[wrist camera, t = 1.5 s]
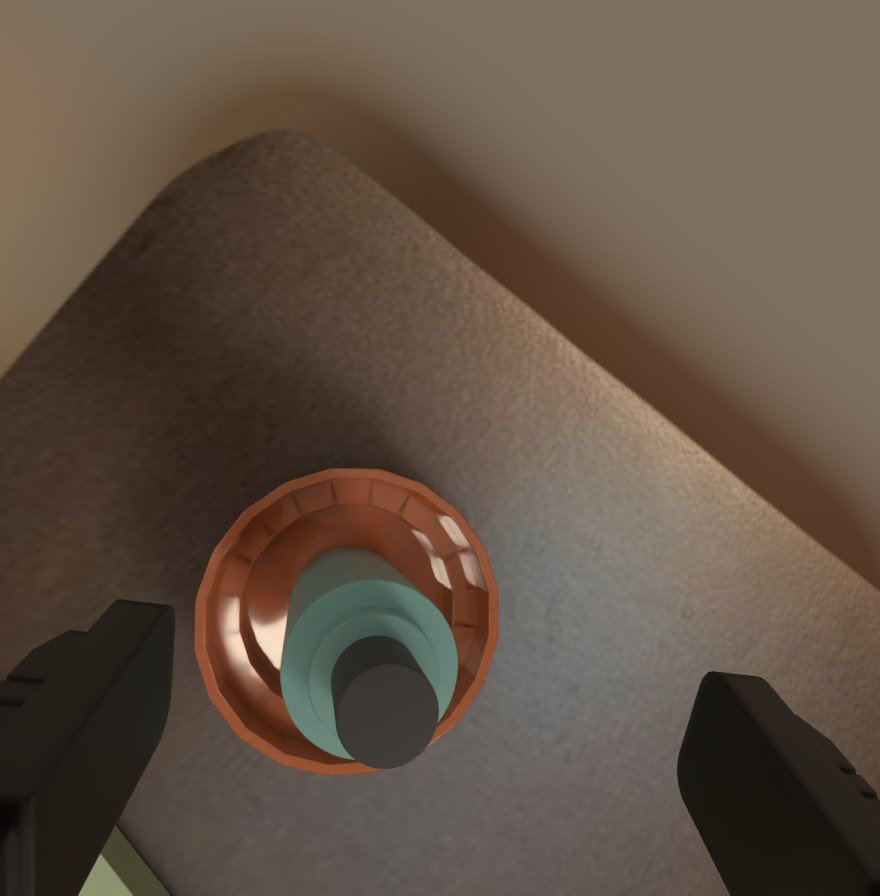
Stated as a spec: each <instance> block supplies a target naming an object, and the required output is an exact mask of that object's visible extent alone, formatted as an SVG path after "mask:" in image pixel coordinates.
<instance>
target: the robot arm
mask: <svg viewBox="0 0 880 896" xmlns="http://www.w3.org/2000/svg"><path fill="white" fill-rule="evenodd" d="M174 633H175V612H174V608H173V607H172V606H171V605H163V604H154V603H146V602H138V601H129V600H121V599H119V600H116V601H115V602H114V603H113V604H112V605H111V606H110V607H109V608H108V609H107V610H106V611H105V613H104V614H103V615H102V616H101V617H100V618H99V619H98V620H97V622H96V623H95V624H94V625H93V626H92V627H91V628H90V630H89V631H88V632H81V631H73V630H69V631H67V632H65V633H63V634H61V635H59V636H57V637H55V638H54V639H52V640H50V641H48V642H46V643H44V644H42V645H41V646H39V647H37V648H35V649H33V650H32V651H31V652H30V653H29V654H28V655H27V656H26V657H25V658H24V659H23V660H22V661H21V662H20V663H19V664H18V665H17V666H16V667H15V668H14V669H13V670H12V671H11V672H10V673H9V674H8V675H7V679H6V681H1V682H0V896H78V895H79V893H80V891H81V889H82V887H83V885H84V884H85V882H86V880H87V878H88V876H89V874H90V872H91V870H92V868H93V867H94V865H95V863H96V861H97V859H98V857H99V855H100V853H101V851H102V850H103V848H104V846H105V844H106V842H107V840H108V838H109V836H110V834H111V833H112V831H113V829H114V827H115V825H116V823H117V821H118V819H119V817H120V816H121V814H122V812H123V810H124V808H125V806H126V804H127V802H128V800H129V799H130V797H131V795H132V793H133V791H134V789H135V787H136V785H137V784H138V782H139V780H140V778H141V776H142V774H143V772H144V770H145V768H146V767H147V765H148V763H149V761H150V759H151V757H152V755H153V753H154V751H155V750H156V748H157V746H158V744H159V741H160V739H161V737H162V734H163V731H164V728H165V725H166V721H167V717H168V713H169V707H170V701H171V687H172V669H173V651H174ZM855 770H856V769H855V768H854V767H853V766H852V765H851V763H850V762H849V761H848V760H847V759H846V758H845V757H844V755H843V754H842V753H841V752H840V751H839V750H838V748H837V747H836V746H835V745H834V744H833V743H832V742H831V741H830V740H829V739H828V738H827V737H825V736H824V735H823V734H821V733H820V732H819V731H817V730H816V729H815V728H813V727H812V726H811V725H809V724H808V723H807V722H805V721H804V720H803V719H801V718H800V717H799V716H797V715H795V714H794V713H793V712H792V711H791V710H790V708H789V707H788V706H787V705H786V704H785V702H784V701H783V700H782V699H781V698H780V697H779V695H778V694H777V693H776V692H775V691H774V689H773V688H772V687H771V686H770V685H769V683H768V682H767V681H766V680H764V679H763V678H761V677H757V676H749V675H740V674H732V673H723V672H715V671H711V672H708V673H707V674H706V675H705V676H704V677H703V679H702V681H701V684H700V686H699V690H698V693H697V696H696V699H695V703H694V706H693V709H692V713H691V716H690V719H689V723H688V726H687V729H686V732H685V736H684V739H683V742H682V746H681V749H680V752H679V757H678V765H677V775H678V784H679V789H680V793H681V796H682V799H683V801H684V803H685V805H686V807H687V809H688V811H689V813H690V815H691V817H692V819H693V821H694V823H695V825H696V827H697V829H698V831H699V833H700V835H701V837H702V839H703V841H704V843H705V845H706V847H707V849H708V851H709V853H710V855H711V857H712V859H713V861H714V863H715V865H716V867H717V869H718V871H719V873H720V875H721V878H722V880H723V882H724V884H725V886H726V888H727V890H728V892H729V894H730V896H880V800H878V799H877V793H876V792H875V791H874V790H873V789H872V788H871V786H870V785H869V784H868V783H867V782H866V781H865V780H864V778H863V777H862V776H861V775H856V772H855Z"/></svg>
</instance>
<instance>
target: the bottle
mask: <svg viewBox="0 0 880 896" xmlns="http://www.w3.org/2000/svg"><path fill="white" fill-rule="evenodd" d="M457 671H458V655H457V649H456V644H455V640H454V637H453V633H452V631H451V629H450V627H449V624H448V622H447V621H446V619H445V618H444V616H443V614H442V613H441V612H440V611H439V609H438V608H437V607H436V606H435V605H434V604H433V603H432V602H431V601H430V600H429V599H428V598H427V597H426V596H425V595H424V594H422V593H421V592H420V591H419V590H418V589H417V588H416V587H415V586H414V585H413V584H412V583H411V582H409V581H408V580H407V579H406V578H405V577H404V576H403V575H402V574H401V573H400V572H399V571H397V570H396V569H395V568H394V567H393V566H392V565H391V564H390V563H389V562H388V561H387V560H385V559H384V558H383V557H382V556H380V555H379V554H377V553H375V552H374V551H372V550H369V549H366V548H363V547H358V546H340V547H335V548H332V549H329V550H326V551H324V552H322V553H320V554H318V555H317V556H315V557H314V558H313V559H311V560H310V561H309V562H308V563H307V564H306V565H305V566H304V567H303V569H302V570H301V571H300V573H299V574H298V576H297V578H296V580H295V582H294V584H293V587H292V590H291V594H290V601H289V608H288V615H287V622H286V629H285V636H284V644H283V651H282V658H281V667H280V685H281V691H282V696H283V700H284V703H285V706H286V709H287V711H288V713H289V715H290V717H291V719H292V720H293V722H294V724H295V725H296V727H297V728H298V729H299V730H300V732H301V733H302V734H303V735H304V736H305V737H306V738H307V739H308V740H309V741H311V742H312V743H313V744H314V745H316V746H317V747H319V748H321V749H322V750H324V751H326V752H328V753H330V754H333V755H335V756H339V757H342V758H346V759H352V760H356V761H358V762H360V763H361V764H364V765H366V766H369V767H372V768H378V769H389V768H395V767H399V766H402V765H404V764H406V763H408V762H410V761H412V760H413V759H415V758H416V757H417V756H419V755H420V754H421V753H422V752H423V751H424V750H425V748H426V747H427V746H428V744H429V743H430V741H431V740H432V738H433V736H434V734H435V731H436V728H437V724H438V722H439V720H440V719H441V717H442V716H443V714H444V713H445V711H446V709H447V707H448V705H449V703H450V701H451V698H452V695H453V692H454V689H455V685H456V680H457Z"/></svg>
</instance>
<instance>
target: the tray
mask: <svg viewBox="0 0 880 896" xmlns="http://www.w3.org/2000/svg"><path fill="white" fill-rule="evenodd" d="M78 896H170V894H169V893H168V892H167V890H166V889H165V888H164V887H163V885H162V884H161V883H160V881H159V880H158V879H157V878H156V876H155V875H154V874H153V872H152V871H151V870H150V869H149V867H148V866H147V865H146V863H145V862H144V861H143V860H142V858H141V857H140V856H139V854H138V853H137V852H136V851H135V849H134V848H133V847H132V845H131V844H130V843H129V842H128V840H127V839H126V838H125V836H124V835H123V834H122V833H121V831H120V830H119V829H118V827H117V826H116V825H115V827H114V829H113V831H112V833H111V834H110V836H109V838H108V840H107V842H106V844H105V846H104V848H103V850H102V851H101V853H100V855H99V857H98V859H97V861H96V863H95V865H94V867H93V868H92V870H91V872H90V874H89V876H88V878H87V880H86V882H85V884H84V885H83V887H82V889H81V891H80V893H79V895H78Z"/></svg>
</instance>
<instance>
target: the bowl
mask: <svg viewBox="0 0 880 896" xmlns="http://www.w3.org/2000/svg"><path fill="white" fill-rule="evenodd" d="M340 546H358V547H363V548H366V549H369V550H372V551H374V552H375V553H377V554H379V555H380V556H382V557H383V558H384V559H385V560H387V561H388V562H389V563H390V564H391V565H392V566H393V567H394V568H395V569H396V570H397V571H399V572H400V573H401V574H402V575H403V576H404V577H405V578H406V579H407V580H408V581H409V582H411V583H412V584H413V585H414V586H415V587H416V588H417V589H418V590H419V591H420V592H421V593H422V594H424V595H425V596H426V597H427V598H428V599H429V600H430V601H431V602H432V603H433V604H434V605H435V606H436V607H437V608H438V609H439V611H440V612H441V613H442V614H443V616H444V618H445V619H446V621H447V622H448V624H449V627H450V629H451V631H452V633H453V637H454V640H455V644H456V649H457V655H458V671H457V680H456V685H455V689H454V692H453V695H452V698H451V701H450V703H449V705H448V707H447V709H446V711H445V713H444V714H443V716H442V717H441V719H440V720H439V722H438V724H437V728H436V731H435V734H434V736H433V738H432V740H431V741H430V743H429V744H428V746H429V745H431V744H432V743H433V742H434V741H435V740H437V739H438V738H439V737H440V736H442V735H443V734H444V733H445V732H446V731H448V730H449V729H450V728H451V727H452V726H454V725H455V724H456V723H457V721H459V720H460V718H461V717H462V715H463V714H464V712H465V710H466V709H467V707H468V706H469V704H470V703H471V701H472V700H473V698H474V697H475V695H476V694H477V692H478V691H479V689H480V688H481V686H482V685H483V683H484V681H485V678H486V675H487V672H488V669H489V665H490V662H491V659H492V656H493V652H494V649H495V646H496V642H497V639H498V589H497V586H496V582H495V579H494V576H493V573H492V569H491V566H490V563H489V560H488V557H487V553H486V550H485V548H484V546H483V544H482V543H481V541H480V540H479V539H478V537H477V536H476V534H475V533H474V531H473V530H472V529H471V527H470V526H469V524H468V523H467V522H466V520H465V519H464V517H463V516H462V514H461V513H460V512H459V511H458V510H457V509H456V508H455V507H453V506H452V505H451V504H449V503H448V502H447V501H445V500H444V499H443V498H441V497H440V496H439V495H437V494H436V493H435V492H433V491H432V490H431V489H429V488H428V487H427V486H425V485H424V484H422V483H420V482H417V481H414V480H411V479H408V478H405V477H402V476H399V475H397V474H394V473H391V472H388V471H385V470H382V469H377V468H332V469H331V468H330V469H327V470H323V471H320V472H317V473H314V474H310V475H307V476H304V477H301V478H297V479H294V480H291V481H288V482H286V483H283V484H282V485H280V486H279V487H277V488H276V489H275V490H273V491H272V492H270V493H269V494H267V495H266V496H264V497H263V498H262V499H260V500H259V501H257V502H256V503H254V504H253V505H251V506H250V507H249V508H247V509H246V510H245V511H244V512H242V514H241V515H240V516H239V518H238V519H237V520H236V521H235V523H234V524H233V525H232V527H231V528H230V529H229V531H228V532H227V533H226V534H225V536H224V537H223V538H222V540H221V541H220V542H219V543H218V545H217V546H216V547H215V549H214V550H213V552H212V554H211V557H210V560H209V562H208V565H207V568H206V571H205V574H204V576H203V579H202V582H201V585H200V587H199V590H198V593H197V596H196V600H195V628H194V649H195V650H194V652H195V655H196V658H197V661H198V664H199V668H200V671H201V674H202V677H203V680H204V683H205V687H206V690H207V693H208V696H209V698H210V699H211V701H212V702H213V703H214V705H215V706H216V707H217V709H218V710H219V711H220V713H221V714H222V715H223V717H224V718H225V719H226V721H227V722H228V723H229V725H230V726H231V727H232V729H233V730H234V731H235V733H236V734H237V735H238V736H239V737H240V738H241V739H243V740H244V741H246V742H247V743H249V744H250V745H252V746H253V747H255V748H256V749H258V750H260V751H261V752H263V753H264V754H266V755H267V756H269V757H270V758H272V759H273V760H275V761H276V762H278V763H280V764H283V765H287V766H291V767H295V768H299V769H303V770H307V771H311V772H315V773H319V774H323V775H338V774H351V773H363V772H374V771H378V770H381V769H378V768H372V767H369V766H366V765H364V764H361V763H360V762H358V761H356V760H352V759H346V758H342V757H339V756H335V755H333V754H330V753H328V752H326V751H324V750H322V749H321V748H319V747H317V746H316V745H314V744H313V743H312V742H311V741H309V740H308V739H307V738H306V737H305V736H304V735H303V734H302V733H301V732H300V730H299V729H298V728H297V727H296V725H295V724H294V722H293V720H292V719H291V717H290V715H289V713H288V711H287V709H286V706H285V703H284V700H283V696H282V691H281V685H280V667H281V658H282V651H283V644H284V636H285V629H286V622H287V615H288V608H289V601H290V594H291V590H292V587H293V584H294V582H295V580H296V578H297V576H298V574H299V573H300V571H301V570H302V569H303V567H304V566H305V565H306V564H307V563H308V562H309V561H310V560H311V559H313V558H314V557H315V556H317V555H318V554H320V553H322V552H324V551H326V550H329V549H332V548H335V547H340ZM428 746H427V747H428ZM427 747H426V748H427ZM426 748H425V749H426Z"/></svg>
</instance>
